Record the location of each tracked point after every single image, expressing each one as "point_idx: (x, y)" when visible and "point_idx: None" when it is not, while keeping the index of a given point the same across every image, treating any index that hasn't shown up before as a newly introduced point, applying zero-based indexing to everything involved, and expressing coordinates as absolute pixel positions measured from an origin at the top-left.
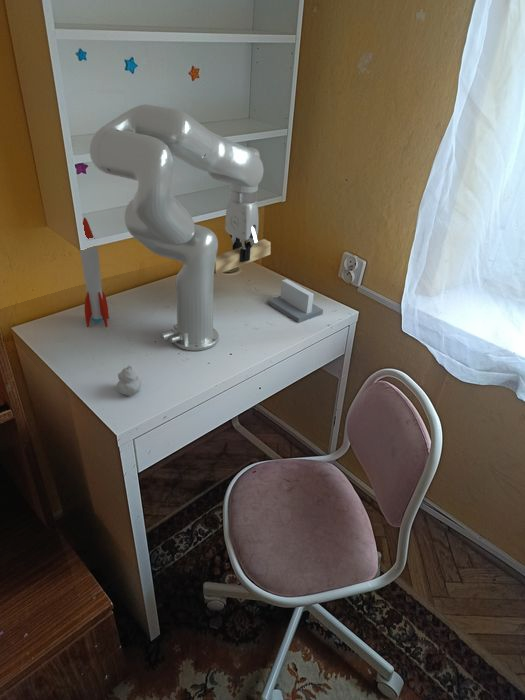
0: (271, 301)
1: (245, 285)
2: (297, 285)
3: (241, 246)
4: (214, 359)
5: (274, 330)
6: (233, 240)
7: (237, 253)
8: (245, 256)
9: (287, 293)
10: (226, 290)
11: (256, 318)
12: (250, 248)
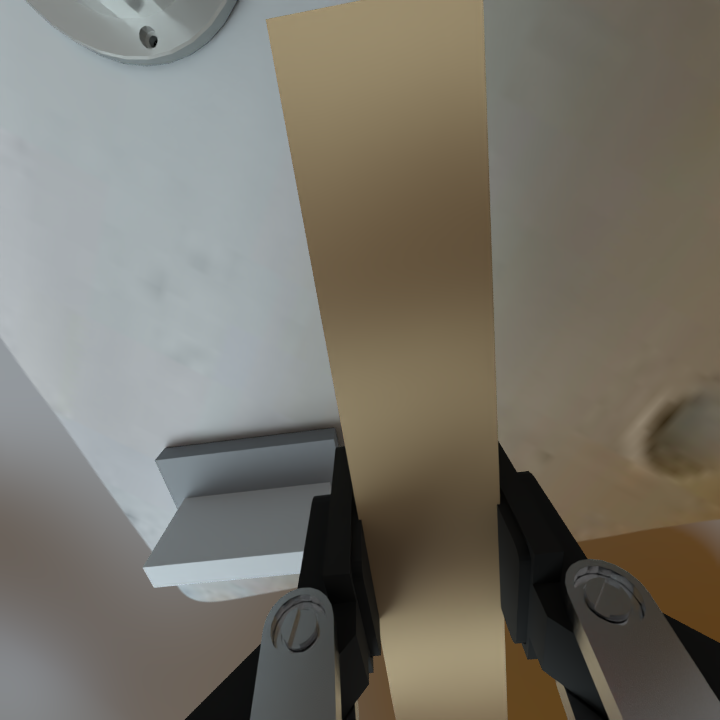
0: (315, 441)
1: (518, 426)
2: (250, 575)
3: (503, 604)
4: None
5: (129, 347)
6: (607, 639)
7: (366, 485)
8: (310, 524)
9: (287, 514)
10: (526, 336)
11: (241, 331)
12: (399, 648)
